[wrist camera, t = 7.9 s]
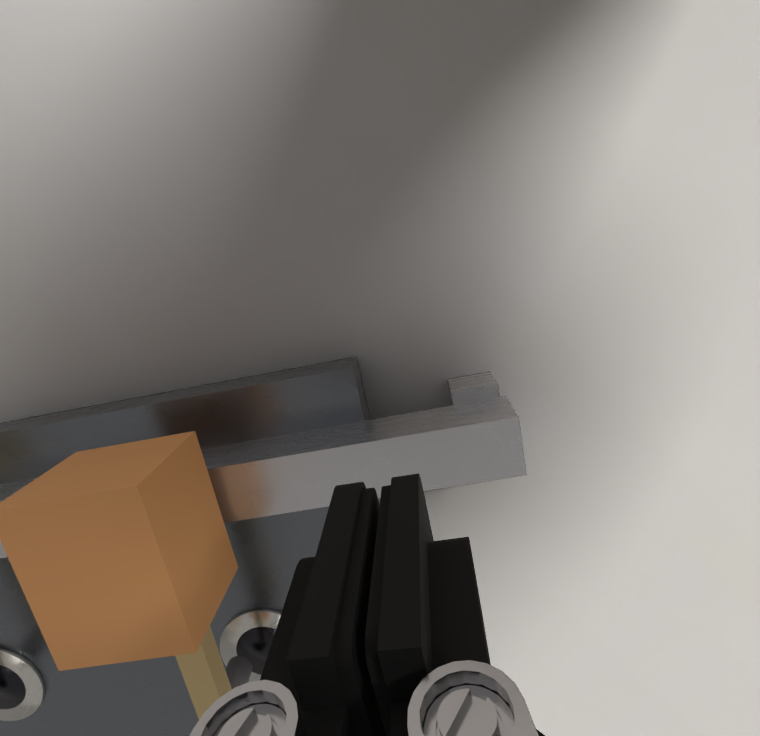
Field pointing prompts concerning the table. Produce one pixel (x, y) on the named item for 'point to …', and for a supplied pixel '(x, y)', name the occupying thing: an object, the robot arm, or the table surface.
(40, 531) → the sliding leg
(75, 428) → the bolt plate
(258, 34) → the table surface
